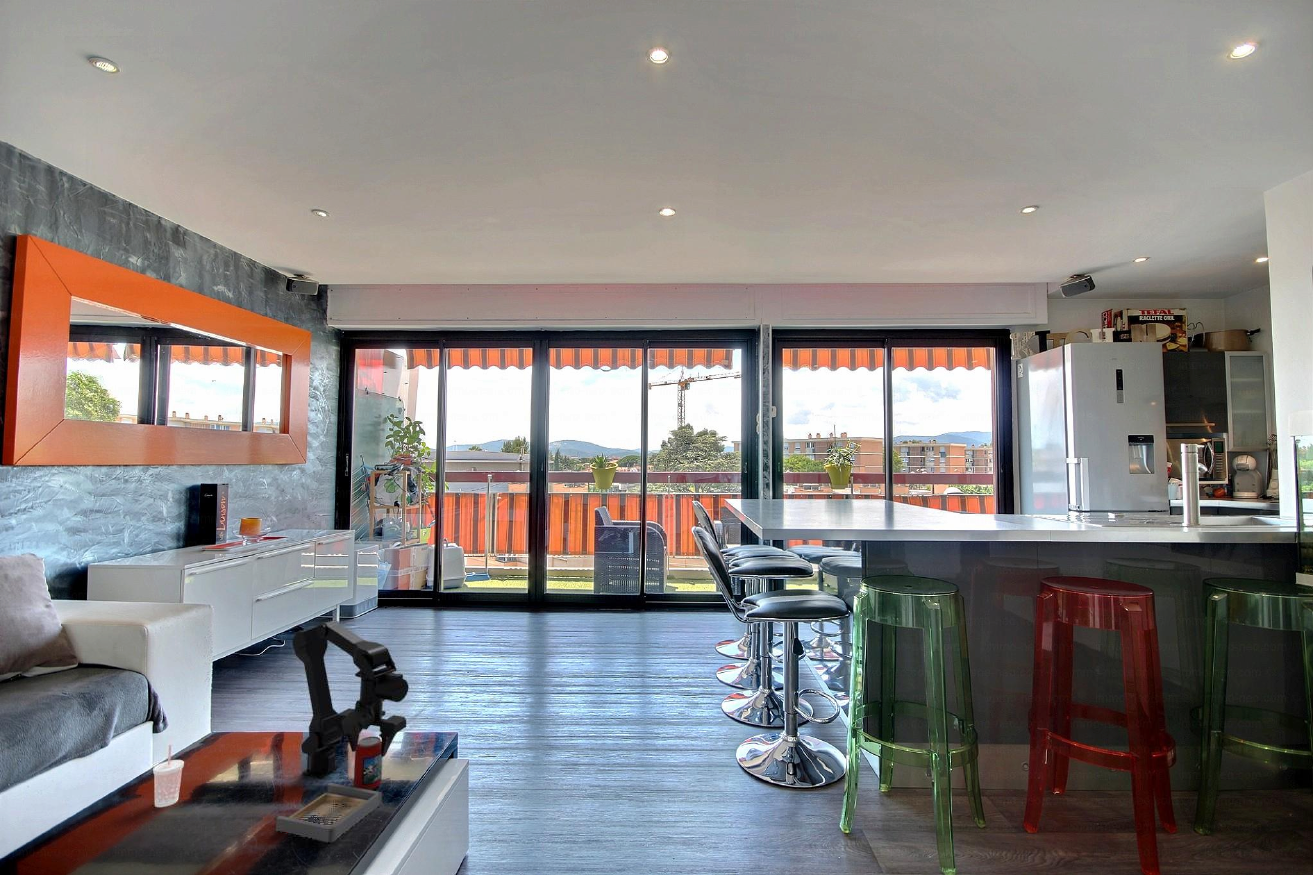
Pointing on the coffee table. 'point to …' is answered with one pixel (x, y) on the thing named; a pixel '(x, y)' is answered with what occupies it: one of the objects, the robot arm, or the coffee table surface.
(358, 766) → the beverage can
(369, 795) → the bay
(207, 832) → the coffee table surface
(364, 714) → the robot arm
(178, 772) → the beverage cup
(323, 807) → the tray
